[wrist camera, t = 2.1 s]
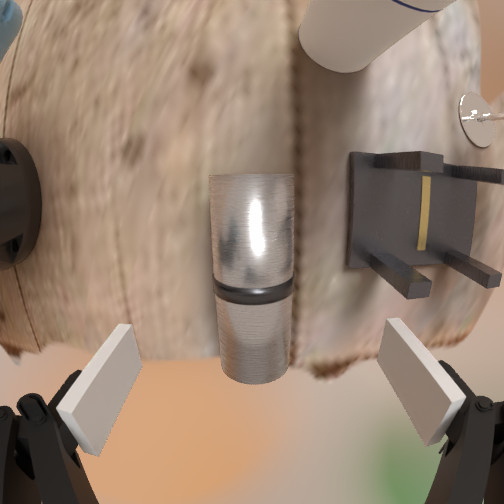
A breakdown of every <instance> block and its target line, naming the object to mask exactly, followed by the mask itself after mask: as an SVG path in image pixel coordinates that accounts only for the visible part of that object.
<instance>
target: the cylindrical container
mask: <svg viewBox="0 0 504 504" xmlns="http://www.w3.org/2000/svg"><path fill="white" fill-rule="evenodd" d="M454 1H456V0H310V1H309V4H308V6H307V9H306V11H305V14H304V17H303V19H302V22H301V25H300V28H299V40H300V43H301V45H302V48H303V49H304V51H305V52H306V54H307V55H308V56H309V57H310V58H311V59H312V60H313V61H315V62H316V63H318V64H319V65H321V66H323V67H325V68H326V69H329V70H332V71H335V72H340V73H352V72H357V71H359V70H362V69H363V68H364V67H366V66H367V65H368V64H370V63H371V62H372V61H373V60H375V59H376V58H377V57H378V56H380V55H381V54H382V53H383V52H385V51H386V50H387V49H389V48H390V47H391V46H392V45H394V44H395V43H396V42H398V41H399V40H400V39H402V38H403V37H404V36H406V35H407V34H408V33H410V32H411V31H412V30H414V29H415V28H417V27H418V26H419V25H421V24H422V23H423V22H425V21H426V20H428V19H429V18H431V17H432V16H433V15H435V14H436V13H438V12H439V11H441V10H442V9H443V8H445V7H447V6H448V5H450V4H451V3H453V2H454Z"/></svg>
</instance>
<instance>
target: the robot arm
mask: <svg viewBox="0 0 504 504" xmlns="http://www.w3.org/2000/svg"><path fill="white" fill-rule="evenodd" d="M22 18H23V15H22V10H21V8H20V6H19V5H18V4H17V3H16V2H15V1H14V0H0V63H1V61H2V59H3V57H4V56H5V54H6V52H7V51H8V49H9V47H10V46H11V44H12V42H13V41H14V39H15V38H16V36H17V34H18V32H19V30H20V28H21V25H22ZM40 218H41V192H40V184H39V179H38V174H37V171H36V167H35V164H34V162H33V160H32V157H31V156H30V154H29V152H28V151H27V149H26V148H25V147H24V146H23V145H22V144H21V143H20V142H18V141H17V140H15V139H11V138H0V270H6V269H9V268H11V267H13V266H15V265H16V264H18V263H20V262H22V261H23V260H24V259H26V257H27V256H28V255H29V254H30V252H31V250H32V249H33V247H34V244H35V242H36V239H37V235H38V231H39V226H40ZM377 362H378V364H379V365H380V367H381V368H382V370H383V372H384V374H385V375H386V377H387V378H388V380H389V382H390V384H391V385H392V387H393V389H394V391H395V392H396V394H397V396H398V398H399V399H400V401H401V403H402V405H403V406H404V408H405V410H406V412H407V414H408V415H409V417H410V419H411V421H412V423H413V424H414V426H415V428H416V430H417V432H418V434H419V435H420V437H421V439H422V441H423V443H424V445H425V447H427V446H430V445H432V444H435V443H438V442H440V440H441V439H442V437H443V436H444V434H445V433H446V435H447V436H448V440H447V441H446V442H445V444H444V445H443V447H442V448H441V450H440V451H439V454H440V453H441V452H442V451H443V454H442V457H441V461H440V464H439V467H438V470H437V473H436V476H435V479H434V481H433V484H432V487H431V489H430V492H429V494H428V497H427V499H426V502H425V504H482V502H483V498H484V504H504V401H503V402H495V403H493V401H492V400H491V399H489V398H488V397H485V396H477V397H476V396H475V394H474V393H473V392H472V391H471V390H470V388H469V387H468V386H467V385H466V383H465V382H464V381H463V380H462V379H460V377H459V375H458V374H457V373H456V372H455V370H454V369H453V368H452V367H451V366H450V365H449V364H447V363H445V362H444V361H442V360H440V361H437V360H436V359H435V358H434V357H433V356H432V355H431V353H430V352H429V351H428V350H427V349H426V347H425V346H424V345H423V344H422V343H421V342H420V341H419V339H418V338H417V337H416V336H415V335H414V334H413V333H412V332H411V330H410V329H409V328H408V327H407V326H406V325H405V324H404V323H403V322H402V321H401V319H400V318H399V317H398V318H389V319H386V324H385V328H384V333H383V337H382V342H381V346H380V350H379V354H378V358H377ZM141 368H142V363H141V359H140V356H139V352H138V348H137V344H136V340H135V336H134V332H133V327H132V324H118V326H117V327H116V328H115V329H114V331H113V332H112V333H111V335H110V336H109V337H108V338H107V340H106V341H105V342H104V343H103V345H102V346H101V347H100V349H99V350H98V351H97V353H96V354H95V355H94V357H93V358H92V359H91V360H90V362H89V363H88V365H87V366H86V367H85V369H84V370H83V371H81V370H77V371H75V372H74V373H73V374H71V375H70V376H69V377H68V379H67V380H66V381H65V384H63V385H62V386H61V388H60V390H58V392H57V393H56V394H55V396H54V397H53V398H52V400H51V401H50V402H49V404H48V405H46V403H45V402H44V400H43V398H42V396H40V395H39V394H36V393H30V394H27V395H24V396H23V397H21V398H20V399H19V401H18V402H17V406H16V407H17V409H18V411H19V412H20V414H21V415H22V416H19V415H15V413H14V412H13V410H12V409H11V408H10V407H8V406H0V504H42V503H43V504H99V503H98V501H97V499H96V496H95V494H94V492H93V490H92V488H91V486H90V483H89V481H88V478H87V476H86V473H85V471H84V468H83V466H82V463H81V461H80V458H79V455H78V453H77V451H76V448H77V446H78V444H79V446H80V447H81V449H82V450H83V451H84V452H85V453H88V454H91V455H95V456H98V457H99V455H100V453H101V451H102V449H103V447H104V445H105V442H106V440H107V438H108V436H109V434H110V431H111V429H112V427H113V425H114V423H115V421H116V419H117V417H118V415H119V413H120V411H121V408H122V406H123V404H124V402H125V400H126V398H127V396H128V394H129V392H130V390H131V388H132V386H133V384H134V382H135V380H136V378H137V376H138V374H139V372H140V370H141ZM41 500H42V501H41Z"/></svg>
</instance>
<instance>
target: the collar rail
mask: <svg viewBox="0 0 504 504" xmlns="http://www.w3.org/2000/svg"><path fill="white" fill-rule="evenodd" d="M477 181H479V182H486V183H493V184H499V185H504V170H503V169H494V168H484V167H471V166H456V165H451V164H445V163H443V155H439V154H434V153H428V152H423V151H414V152H399V153H386V154H373V153H362V152H350V213H349V234H348V249H347V262H346V265H347V266H348V267H349V268H366V267H371V268H372V269H373V270H374V271H376V272H377V273H378V274H379V275H380V276H381V277H382V278H384V279H385V280H386V281H387V282H388V283H389V284H390V285H392V286H393V287H394V288H395V289H396V290H397V291H398V292H399V293H401V294H402V295H403V296H404V297H405V298H406V299H416V298H424V297H429V294H430V289H431V284H432V281H431V280H429V279H428V278H426V277H425V276H424V275H422V274H421V273H419V272H418V271H416V270H415V269H413V268H412V267H410V266H409V265H427V264H446V265H448V266H450V267H452V268H453V269H455V270H457V271H459V272H460V273H462V274H464V275H465V276H467V277H469V278H470V279H472V280H474V281H475V282H477V283H479V284H480V285H482V286H483V287H485V288H487V289H488V288H494V287H499V285H500V281H501V276H502V273H500V272H498V271H496V270H495V269H493V268H491V267H489V266H487V265H485V264H483V263H481V262H479V261H477V260H475V259H473V258H471V257H469V256H470V250H471V243H472V236H473V228H474V219H475V208H476V192H477Z"/></svg>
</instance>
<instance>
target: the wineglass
mask: <svg viewBox="0 0 504 504" xmlns="http://www.w3.org/2000/svg"><path fill="white" fill-rule="evenodd" d="M459 114H460V120H461V123H462V126H463V129H464V131H465V133H466V135H467V136H468V138H469V139H470V140H471V141H472V142H473V143H474V144H475V145H477V146H479V147H487V146H489V145H490V144H491V142H492V141H493V138H494V134H495V124H494V121H499V120H504V113H494V114H492V112H491V110H490V108H489V106H488V104H487V103H486V102H485V100H484V99H483V98H482V97H481V96H479V95H478V94H476V93H473V92H468V93H466V94H464V95H463V96H462V98H461V100H460V105H459Z"/></svg>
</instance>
